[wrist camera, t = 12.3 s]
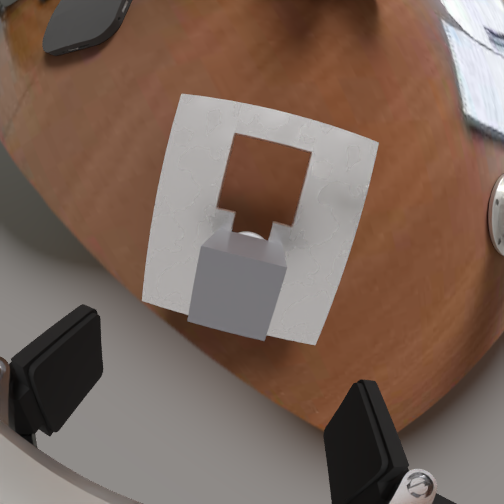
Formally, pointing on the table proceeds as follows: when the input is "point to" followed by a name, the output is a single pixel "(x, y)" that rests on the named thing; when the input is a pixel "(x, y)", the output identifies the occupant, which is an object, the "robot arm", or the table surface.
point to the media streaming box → (83, 24)
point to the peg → (237, 283)
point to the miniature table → (291, 237)
